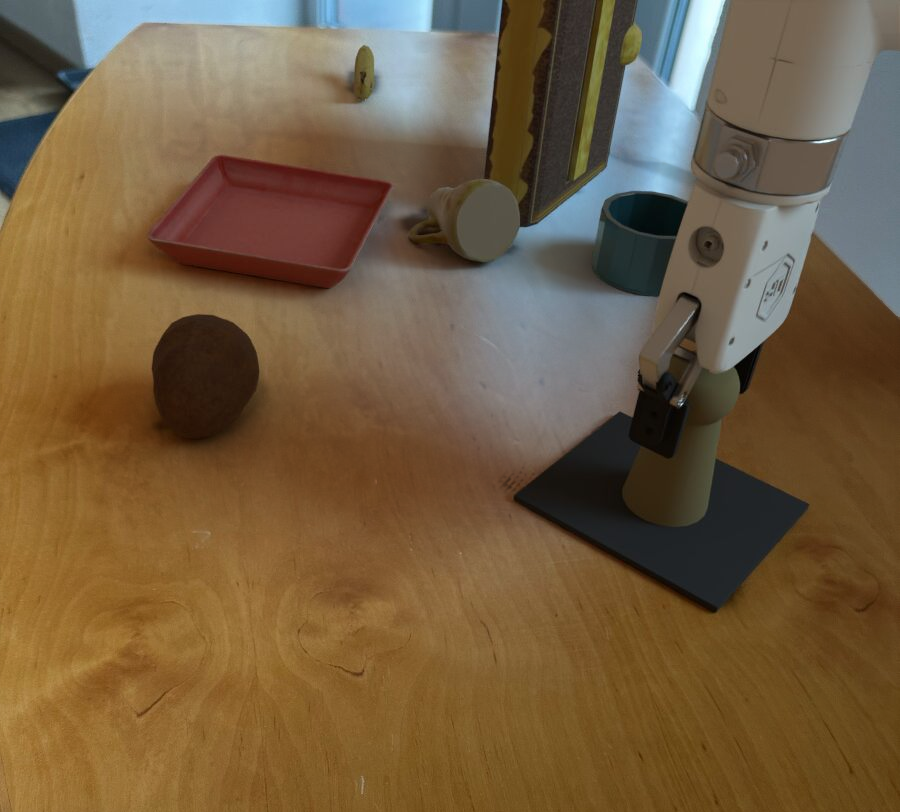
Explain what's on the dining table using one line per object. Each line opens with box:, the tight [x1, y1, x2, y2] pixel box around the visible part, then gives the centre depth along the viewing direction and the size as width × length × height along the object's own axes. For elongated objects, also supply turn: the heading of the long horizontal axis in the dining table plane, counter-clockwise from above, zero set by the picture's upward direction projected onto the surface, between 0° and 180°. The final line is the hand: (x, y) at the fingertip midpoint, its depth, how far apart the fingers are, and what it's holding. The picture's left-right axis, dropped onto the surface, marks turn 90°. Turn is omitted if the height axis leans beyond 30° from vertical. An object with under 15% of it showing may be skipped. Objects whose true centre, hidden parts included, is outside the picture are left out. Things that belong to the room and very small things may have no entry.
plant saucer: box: [146, 154, 395, 289], centre depth 93 cm, size 18×18×3 cm
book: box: [483, 0, 643, 228], centre depth 99 cm, size 22×8×25 cm, turn 150°
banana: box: [353, 44, 375, 101], centre depth 121 cm, size 10×2×4 cm, turn 1°
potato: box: [151, 313, 260, 440], centre depth 72 cm, size 7×10×8 cm
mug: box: [407, 178, 521, 263], centre depth 95 cm, size 8×10×10 cm
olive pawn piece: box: [622, 350, 740, 527], centre depth 68 cm, size 6×6×11 cm
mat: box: [513, 411, 810, 613], centre depth 72 cm, size 16×14×1 cm
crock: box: [591, 190, 689, 297], centre depth 94 cm, size 10×10×6 cm
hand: (689, 414), depth 66 cm, fingers open, 9 cm apart
